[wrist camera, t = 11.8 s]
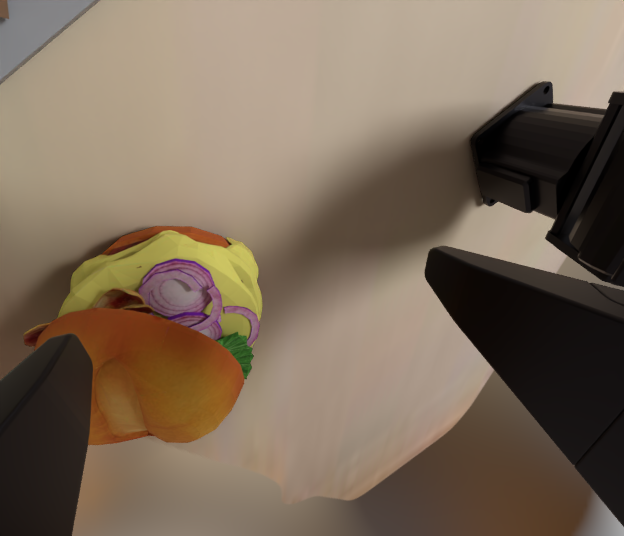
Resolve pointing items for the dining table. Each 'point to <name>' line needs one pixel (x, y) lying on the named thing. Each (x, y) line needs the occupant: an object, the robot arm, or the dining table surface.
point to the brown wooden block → (4, 9)
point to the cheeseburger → (162, 332)
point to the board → (34, 28)
